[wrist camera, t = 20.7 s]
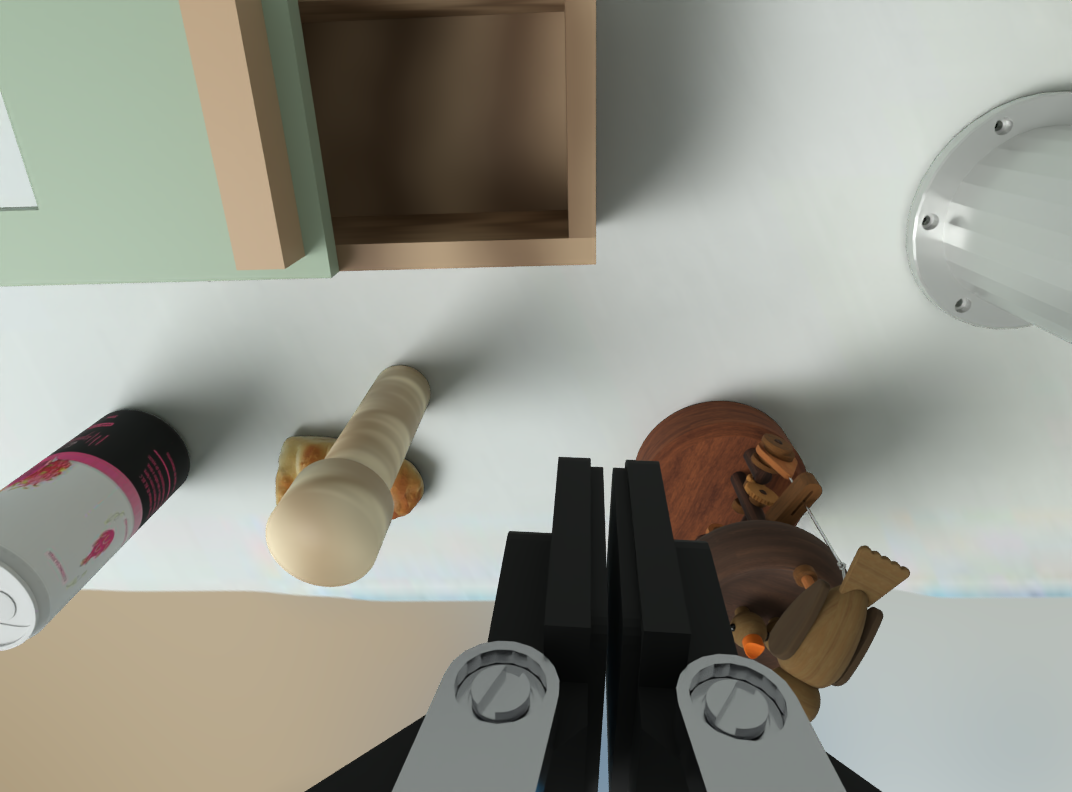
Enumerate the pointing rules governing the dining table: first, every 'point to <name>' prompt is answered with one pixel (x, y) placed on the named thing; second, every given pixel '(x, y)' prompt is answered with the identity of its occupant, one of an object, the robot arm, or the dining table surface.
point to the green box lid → (162, 143)
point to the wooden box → (456, 130)
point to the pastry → (316, 448)
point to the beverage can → (80, 514)
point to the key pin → (350, 487)
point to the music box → (769, 545)
